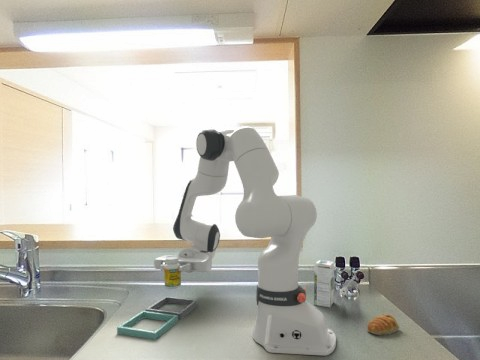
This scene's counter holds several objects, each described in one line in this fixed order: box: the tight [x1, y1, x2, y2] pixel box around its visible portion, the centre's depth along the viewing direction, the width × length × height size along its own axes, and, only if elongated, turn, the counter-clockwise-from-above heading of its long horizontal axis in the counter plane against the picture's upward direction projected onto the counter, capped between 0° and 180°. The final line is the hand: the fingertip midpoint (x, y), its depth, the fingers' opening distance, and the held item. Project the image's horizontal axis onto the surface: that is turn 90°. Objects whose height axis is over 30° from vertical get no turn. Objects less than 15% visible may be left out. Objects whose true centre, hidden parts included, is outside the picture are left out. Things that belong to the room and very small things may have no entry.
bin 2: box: [144, 296, 199, 320], centre depth 116 cm, size 13×13×2 cm
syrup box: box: [313, 259, 335, 308], centre depth 120 cm, size 6×6×14 cm
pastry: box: [366, 314, 400, 336], centre depth 99 cm, size 9×7×4 cm
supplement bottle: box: [163, 257, 182, 290], centre depth 115 cm, size 5×5×10 cm
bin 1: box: [116, 310, 179, 340], centre depth 102 cm, size 13×13×2 cm
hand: (171, 268), depth 114 cm, fingers closed on supplement bottle, 5 cm apart
